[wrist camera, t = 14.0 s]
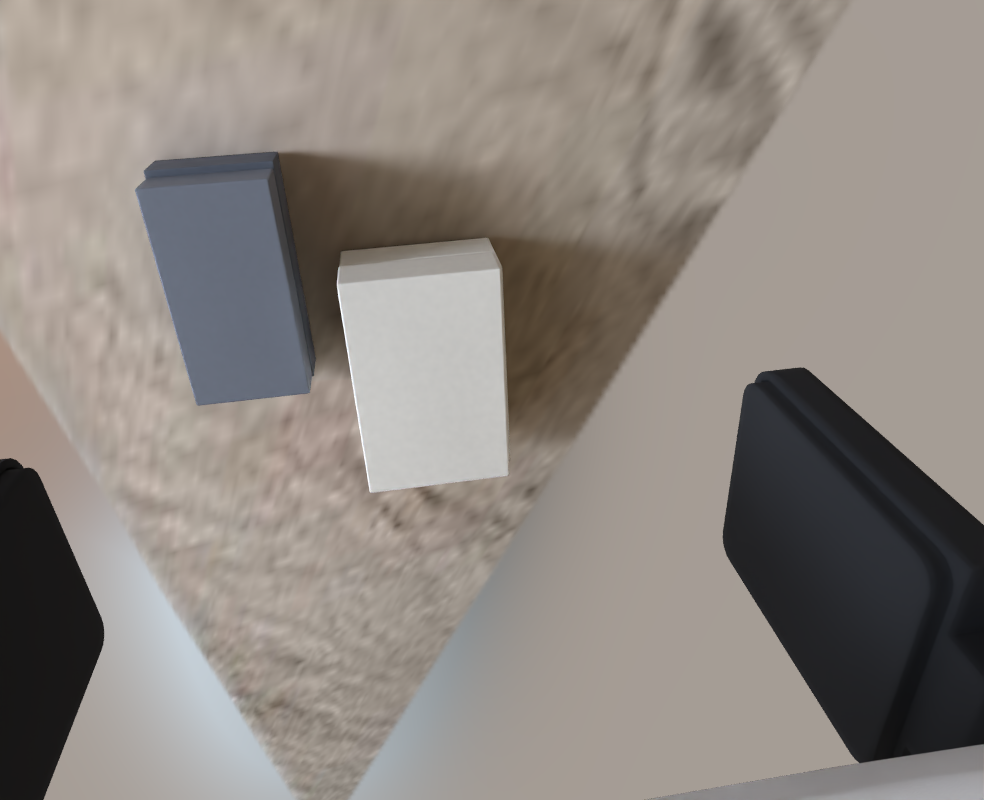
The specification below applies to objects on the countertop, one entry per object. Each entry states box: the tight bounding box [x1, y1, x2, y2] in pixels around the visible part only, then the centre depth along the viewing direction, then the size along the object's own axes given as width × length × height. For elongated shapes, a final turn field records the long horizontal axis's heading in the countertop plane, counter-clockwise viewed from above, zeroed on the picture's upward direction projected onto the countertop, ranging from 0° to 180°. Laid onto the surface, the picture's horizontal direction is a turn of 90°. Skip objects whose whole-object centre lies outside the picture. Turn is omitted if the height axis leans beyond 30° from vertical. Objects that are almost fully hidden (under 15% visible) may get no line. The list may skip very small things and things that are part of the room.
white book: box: [337, 253, 509, 493], centre depth 35 cm, size 11×7×2 cm, turn 3°
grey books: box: [135, 152, 316, 405], centre depth 35 cm, size 11×6×4 cm, turn 3°
